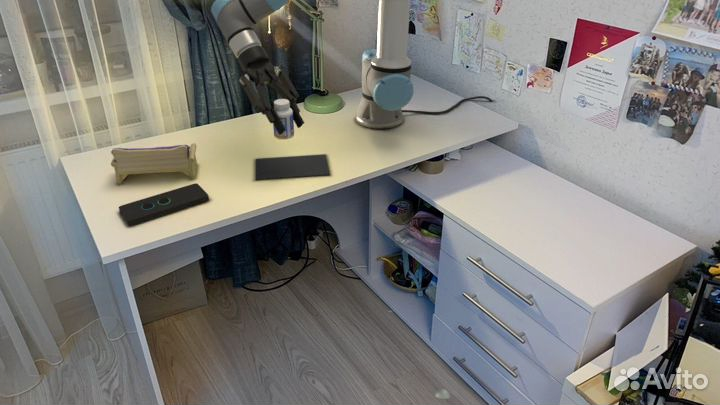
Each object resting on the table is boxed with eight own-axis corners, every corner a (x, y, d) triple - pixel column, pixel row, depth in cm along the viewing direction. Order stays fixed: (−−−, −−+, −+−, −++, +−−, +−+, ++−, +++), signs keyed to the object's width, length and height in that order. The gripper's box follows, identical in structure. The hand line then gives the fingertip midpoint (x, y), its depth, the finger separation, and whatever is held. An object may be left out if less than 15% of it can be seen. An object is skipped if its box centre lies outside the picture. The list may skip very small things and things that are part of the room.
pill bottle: (287, 129, 154) (284, 96, 149) (298, 136, 150) (296, 102, 145) (270, 135, 151) (267, 100, 146) (281, 142, 147) (278, 107, 142)
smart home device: (117, 205, 137) (196, 181, 147) (119, 211, 137) (197, 187, 147) (127, 221, 131) (209, 195, 141) (129, 227, 132) (210, 201, 142)
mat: (325, 155, 163) (325, 154, 163) (330, 175, 153) (330, 174, 153) (255, 159, 161) (255, 158, 161) (255, 180, 151) (255, 179, 151)
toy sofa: (199, 164, 158) (194, 131, 153) (197, 179, 151) (191, 145, 146) (122, 169, 156) (113, 136, 150) (115, 185, 148) (106, 150, 143)
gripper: (273, 52, 156) (313, 125, 155) (214, 67, 146) (257, 145, 144) (283, 37, 150) (325, 112, 149) (223, 51, 140) (268, 132, 138)
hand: (291, 128), depth 147 cm, fingers closed on pill bottle, 5 cm apart
